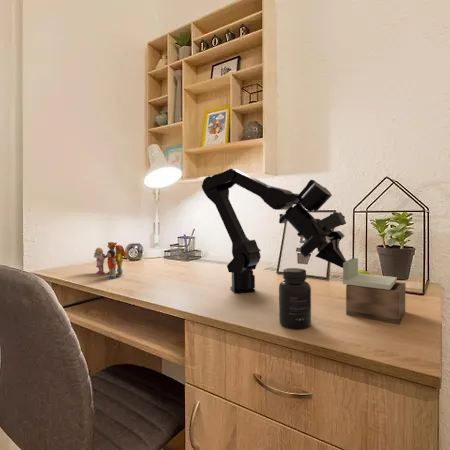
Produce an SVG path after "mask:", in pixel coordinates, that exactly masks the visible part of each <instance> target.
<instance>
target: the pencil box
mask: <svg viewBox="0 0 450 450" xmlns="http://www.w3.org/2000/svg"><path fill="white" fill-rule="evenodd" d="M345 285H346V286H345V296H346V298H345V300H346V301H345V305H346V306H345V315H347V316H352V317H353V316H354V317H357V318H358V317H359V318H364V319H369V320H375V321H380V322H384V323H385V322H386V323H390V324H395V325H401V321H402V320H403V318H404V315H405V313H406V283H405V282H401V281H400V282H398V281H397V282H396V283H395V284H394V285H393V287H392V288H391V289H390V290H387V289H379V288H371V287H363V286H355V285H347V284H345Z"/></svg>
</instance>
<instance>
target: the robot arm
mask: <svg viewBox="0 0 450 450" xmlns="http://www.w3.org/2000/svg"><path fill="white" fill-rule="evenodd" d="M235 185H237V186H238V187H241V188H242V189H245V190H247V191H249V192H250V193H252V194H255V195H256V196H257V197H259V198H260V199H261V200H262V201H263V202H264V203H265V204H266V205H267V206H268V207H270V208H271V209H273V210H278V211H279V210H280V211H283V210H284V211H285V212H284V213H279V220H278V223H279V224H287V223H289V224H290V225H291V226H292V227H293V229H295V230H296V231H297V234H296V235H297V236H298V237H299V238H301V237H302V238H303V239H304V240H305V241H304V243H303V244H302V245H301V246H300V247H299V248H300V249H299V252H300V254H301V255H302V256H303V257H304V258H305V259H306V258H310V257H311V255H312V254H311V253H312V252H314V251H315V250H316V251H317V252H318V253H317V254H316V255H315V257H316V258H319V259H322V260H324V261H326V262H329V263H331V264H333V265H335V266H337V267H340V268H342V269H343V263H344V262H346V261H347V260H346V258H345V256H344V255H343V253H342V251H341V249H340V241H342V240H343V238H344V237H345V234H344V233H342V231H340V230H334V229H336V228H338V227H340V226H344V225H346V224H347V221H346V219H345V218H346V216H345V215H343V214H342V212H337V211H334V212H333V213H330V214H329V216H326V217H324V218H322V219H320V218H315V217H314V216H313V215H312V214H311V213H310V212H313V211H314V212H318V211H319V210H320V209H321V208H322V207H323V206H324V205H325V204H326V203H327V202H328V200H329V199H330V198H331V197H332V196H333V195H332V193H331V192H330V190H329V189H328V188H326V186H323V185H321V184H320V183H318V182H317V181H315V179H310V180H309V181H308V182H307V183H306V186H305V187H304V188H302V190H301V191H300V192H299V193H293V192H292V191H291V190H288V189H284V188H282V187H281V188H280V187H276V186H272V185H269V184H266V183H264V182H262V181H261V180H259V179H257V178H254V177H252V176H250V175H248V174H246V173H244V172H242V171H241V170H239V169H235V168H228V169H227V170H225V171H222V172H219V173H217V174H214V175H210V176H206V177H205V178H203V181H202V184H201V189H202V191H203V193H204V195H205V196H206V197H207V199H209V200H210V201H211V202H212V203H213V204H214V206H215V207H216V210H217V211H218V214H219V217H220V218H221V221H222V223H223V226H224V228H225V229H226V232H227V234H228V236H229V239H230V241H231V243H232V244H231V245H232V246H231V254H232V257H233V258H232V259H231V260H230V262H229V263H228V264H227V265H226V267H227V270H228V273H231V286H230V290H231V291H233V292H234V293H235V294H240V293H252V292H253V293H254V292H256V289H255V288H256V283H255V282H256V278H255V277H256V276H255V274H254V270H256V268H257V265H258V264H259V262H260V261H261V258H262V257H261V252H262V251H261V249H260V248H259V246H258V244H257V241H256V240H255V239H249V238H248V237H247V235H246V233H245V232H244V229H243V226H242V224H241V222H240V221H239V218H238V216H237V214H236V212H235V210H234V207H233V205H232V204H231V200H230V199H229V196H230V189H231V188H233V187H234V186H235ZM333 230H334V231H333Z"/></svg>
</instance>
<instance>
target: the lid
mask: <svg viewBox="0 0 450 450" xmlns="http://www.w3.org/2000/svg"><path fill="white" fill-rule="evenodd" d="M342 269H343V270H342V271H343V272H342V284H343V285H355V286H363V287H371V288H379V289H387V290H390V289H391V288H392V287H393V285H394V284H395V283H396V282H398V280H397V278H398V277H397V276H395V277H394V276H387V275H378V274H377V275H375V274H371V275H369V274H359V273H358V270H359V258H357V257H353V258H351V259H348V260H346V262H344V263H343V268H342Z"/></svg>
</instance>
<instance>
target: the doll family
mask: <svg viewBox="0 0 450 450" xmlns="http://www.w3.org/2000/svg"><path fill="white" fill-rule="evenodd" d="M106 247H107V248H108V251H107V253H106V254H105V253H104V249H102V248H101V247H96V248H95V250H94V253H93V258H94V259H96V265H95V267H96V268H98V271H96V274H97V275H104V274H106V273H105V272H104V265H105V264H104V263H105V260H106V258H107V268H108V270H109V271H108V272H107V275H109V276H108V280H115V279H117V278H119V277H124V274H123V272H124V271H123V268H122V265H123V260H124V259H128V258H129V256H130V254H129V253H128V252H126V251H125V249H124V248H125V247H123V245H120V244H118V242H113V241H110V242H107V246H106ZM116 272H117V273H116Z"/></svg>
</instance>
